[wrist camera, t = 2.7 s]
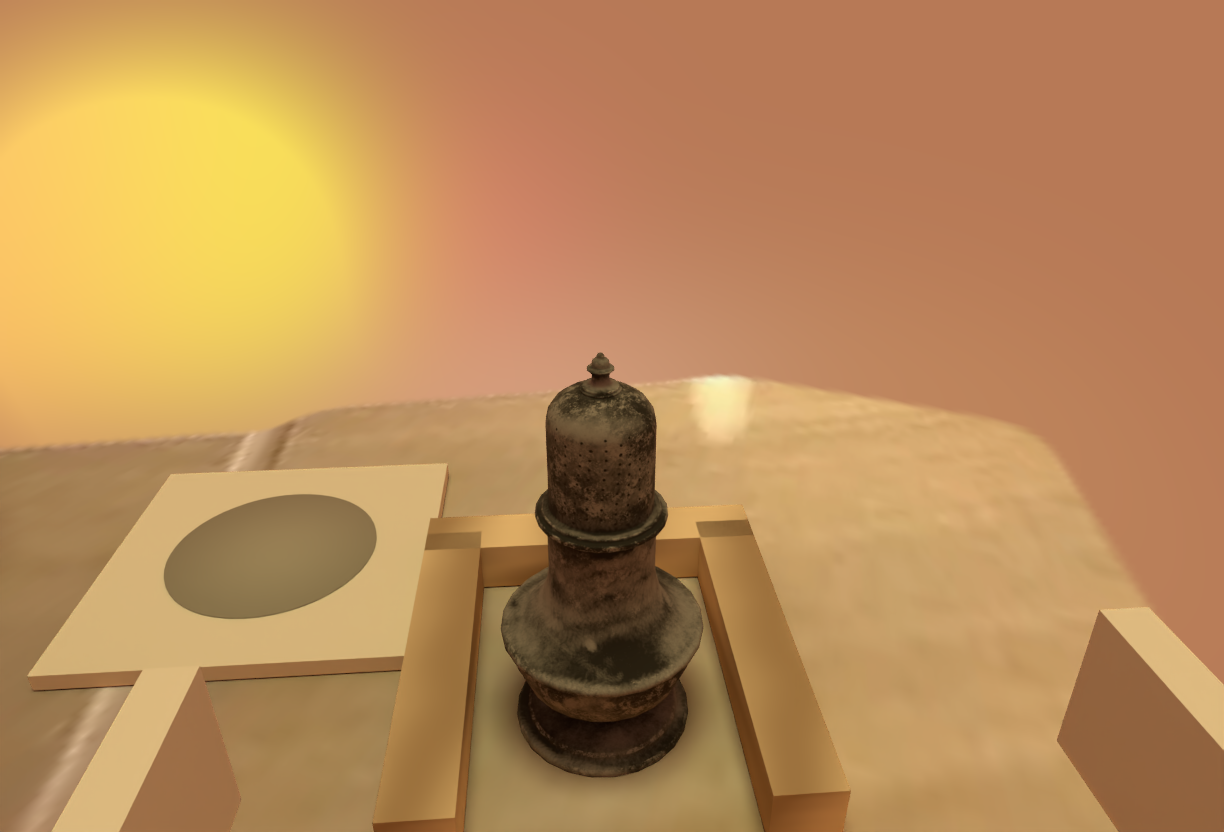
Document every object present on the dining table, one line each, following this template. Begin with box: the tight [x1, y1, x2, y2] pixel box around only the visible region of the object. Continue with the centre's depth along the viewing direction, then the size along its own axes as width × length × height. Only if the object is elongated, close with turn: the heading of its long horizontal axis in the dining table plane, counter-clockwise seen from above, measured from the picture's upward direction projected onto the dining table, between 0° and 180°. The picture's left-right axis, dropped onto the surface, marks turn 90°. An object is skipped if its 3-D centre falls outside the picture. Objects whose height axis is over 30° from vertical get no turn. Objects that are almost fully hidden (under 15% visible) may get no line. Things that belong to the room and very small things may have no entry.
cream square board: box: [27, 463, 449, 690], centre depth 33 cm, size 12×12×1 cm
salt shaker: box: [501, 353, 703, 777], centre depth 24 cm, size 6×6×12 cm
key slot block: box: [372, 505, 851, 832], centre depth 27 cm, size 12×13×2 cm
